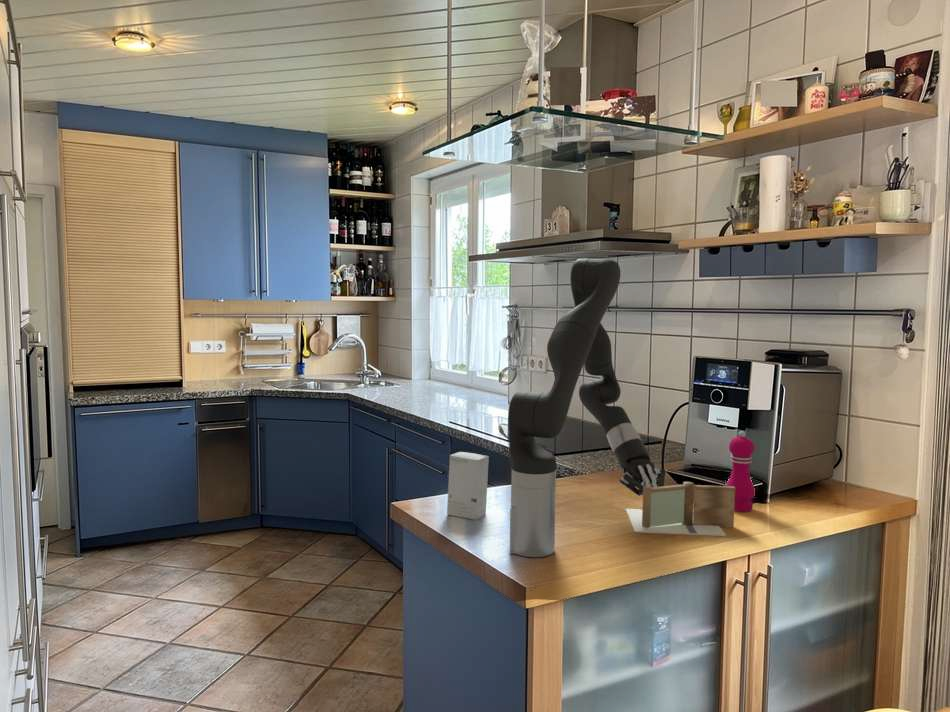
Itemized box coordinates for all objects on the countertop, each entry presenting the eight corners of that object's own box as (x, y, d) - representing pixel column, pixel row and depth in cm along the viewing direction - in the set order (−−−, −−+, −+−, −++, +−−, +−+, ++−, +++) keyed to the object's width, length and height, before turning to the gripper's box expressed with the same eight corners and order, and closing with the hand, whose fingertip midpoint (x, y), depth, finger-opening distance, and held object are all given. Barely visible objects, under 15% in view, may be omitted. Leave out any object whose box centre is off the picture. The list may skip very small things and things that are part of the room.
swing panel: (644, 528, 154) (646, 488, 153) (640, 525, 156) (641, 486, 155) (684, 523, 158) (686, 484, 157) (679, 520, 160) (681, 482, 159)
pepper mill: (754, 514, 168) (758, 434, 166) (723, 510, 170) (727, 432, 169) (753, 506, 175) (757, 429, 173) (724, 503, 177) (726, 427, 176)
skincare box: (446, 515, 164) (447, 455, 163) (458, 509, 170) (458, 450, 169) (477, 520, 161) (478, 459, 160) (488, 513, 166) (489, 454, 165)
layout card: (634, 532, 154) (635, 530, 154) (625, 509, 170) (625, 508, 170) (725, 536, 152) (726, 534, 152) (707, 513, 169) (707, 511, 168)
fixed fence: (683, 526, 158) (684, 484, 157) (680, 522, 161) (682, 481, 160) (734, 528, 157) (736, 485, 156) (731, 525, 159) (733, 483, 159)
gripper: (612, 439, 162) (645, 504, 152) (655, 435, 168) (690, 497, 158) (598, 456, 167) (629, 520, 157) (640, 451, 173) (672, 512, 163)
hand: (659, 508), depth 158 cm, fingers closed
